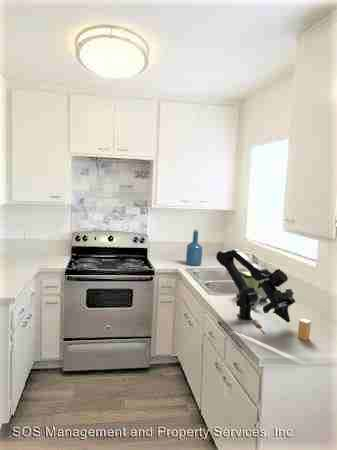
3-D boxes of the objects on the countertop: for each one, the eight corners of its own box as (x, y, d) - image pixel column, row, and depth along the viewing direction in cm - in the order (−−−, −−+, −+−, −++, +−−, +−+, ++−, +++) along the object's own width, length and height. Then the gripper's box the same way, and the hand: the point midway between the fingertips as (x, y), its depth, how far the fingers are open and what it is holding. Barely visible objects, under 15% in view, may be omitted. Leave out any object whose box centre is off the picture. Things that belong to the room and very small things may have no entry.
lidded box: (297, 337, 161) (298, 319, 160) (301, 335, 163) (303, 318, 162) (304, 340, 158) (306, 322, 157) (309, 338, 160) (311, 321, 159)
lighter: (247, 307, 203) (248, 293, 202) (248, 306, 204) (249, 292, 204) (259, 310, 199) (260, 296, 198) (260, 309, 200) (262, 295, 200)
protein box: (236, 296, 224) (238, 271, 222) (258, 295, 228) (260, 271, 226) (244, 301, 214) (246, 275, 212) (267, 300, 218) (269, 275, 216)
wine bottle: (204, 265, 310) (206, 230, 307) (195, 267, 300) (198, 231, 297) (191, 262, 318) (193, 228, 315) (182, 264, 308) (184, 229, 305)
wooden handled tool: (251, 324, 177) (252, 319, 176) (256, 324, 177) (257, 319, 177) (261, 336, 163) (262, 331, 162) (266, 336, 163) (267, 331, 163)
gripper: (271, 285, 162) (290, 317, 155) (294, 281, 174) (312, 310, 167) (255, 297, 169) (272, 328, 162) (278, 292, 181) (295, 321, 174)
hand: (289, 321), depth 166 cm, fingers closed
